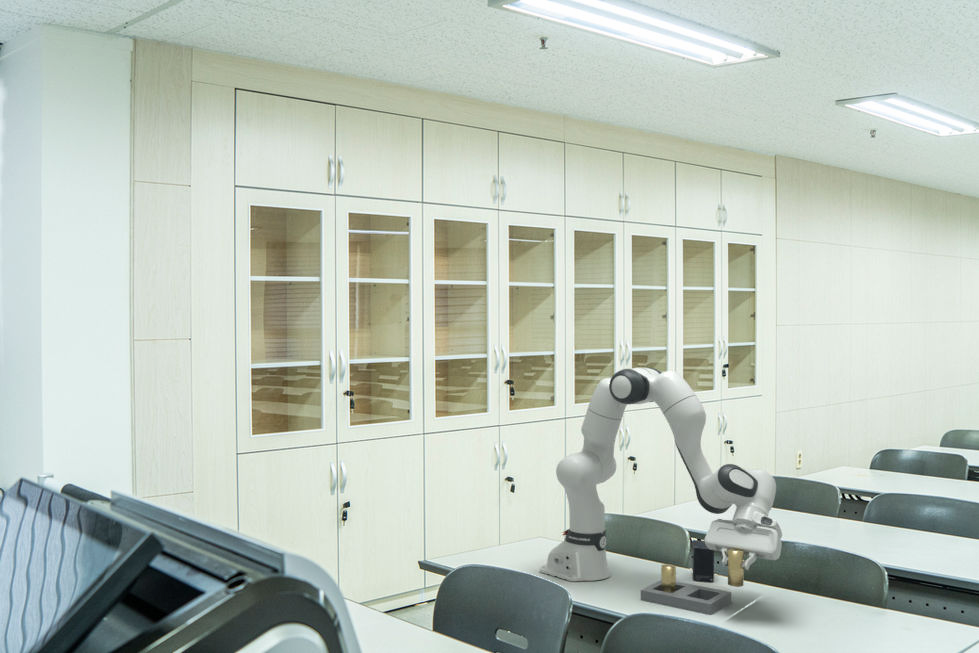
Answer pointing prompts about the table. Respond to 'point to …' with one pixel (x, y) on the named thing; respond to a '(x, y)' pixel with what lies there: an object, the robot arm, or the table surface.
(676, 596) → the tray
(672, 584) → the seated brass billet
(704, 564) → the small box
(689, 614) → the table surface
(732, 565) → the brass billet
